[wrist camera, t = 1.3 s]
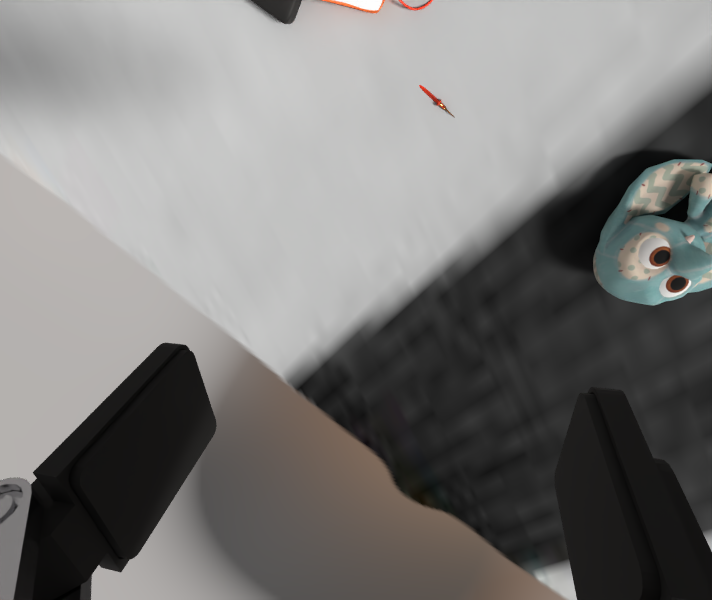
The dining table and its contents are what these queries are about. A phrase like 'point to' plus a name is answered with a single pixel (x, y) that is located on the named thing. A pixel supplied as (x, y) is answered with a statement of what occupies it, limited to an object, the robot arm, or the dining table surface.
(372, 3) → the multimeter
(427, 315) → the dining table surface
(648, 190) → the stuffed animal
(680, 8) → the dining table surface
